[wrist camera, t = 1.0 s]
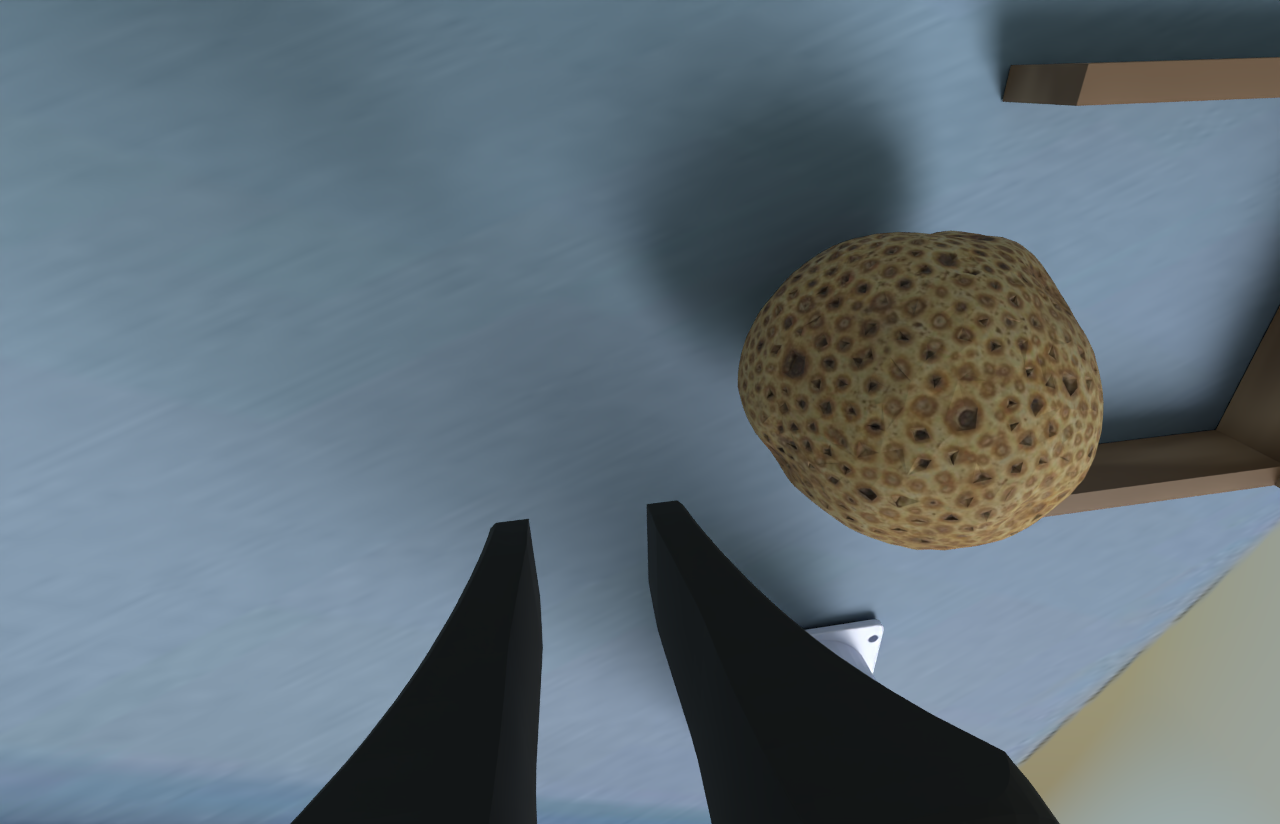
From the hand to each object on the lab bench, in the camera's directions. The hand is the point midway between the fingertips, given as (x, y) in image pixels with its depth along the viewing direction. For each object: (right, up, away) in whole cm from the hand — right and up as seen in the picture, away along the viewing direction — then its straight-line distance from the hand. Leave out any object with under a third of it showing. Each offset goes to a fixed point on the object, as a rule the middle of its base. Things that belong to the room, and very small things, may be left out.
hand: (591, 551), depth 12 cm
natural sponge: (+8, +6, +10) cm, 14 cm away
